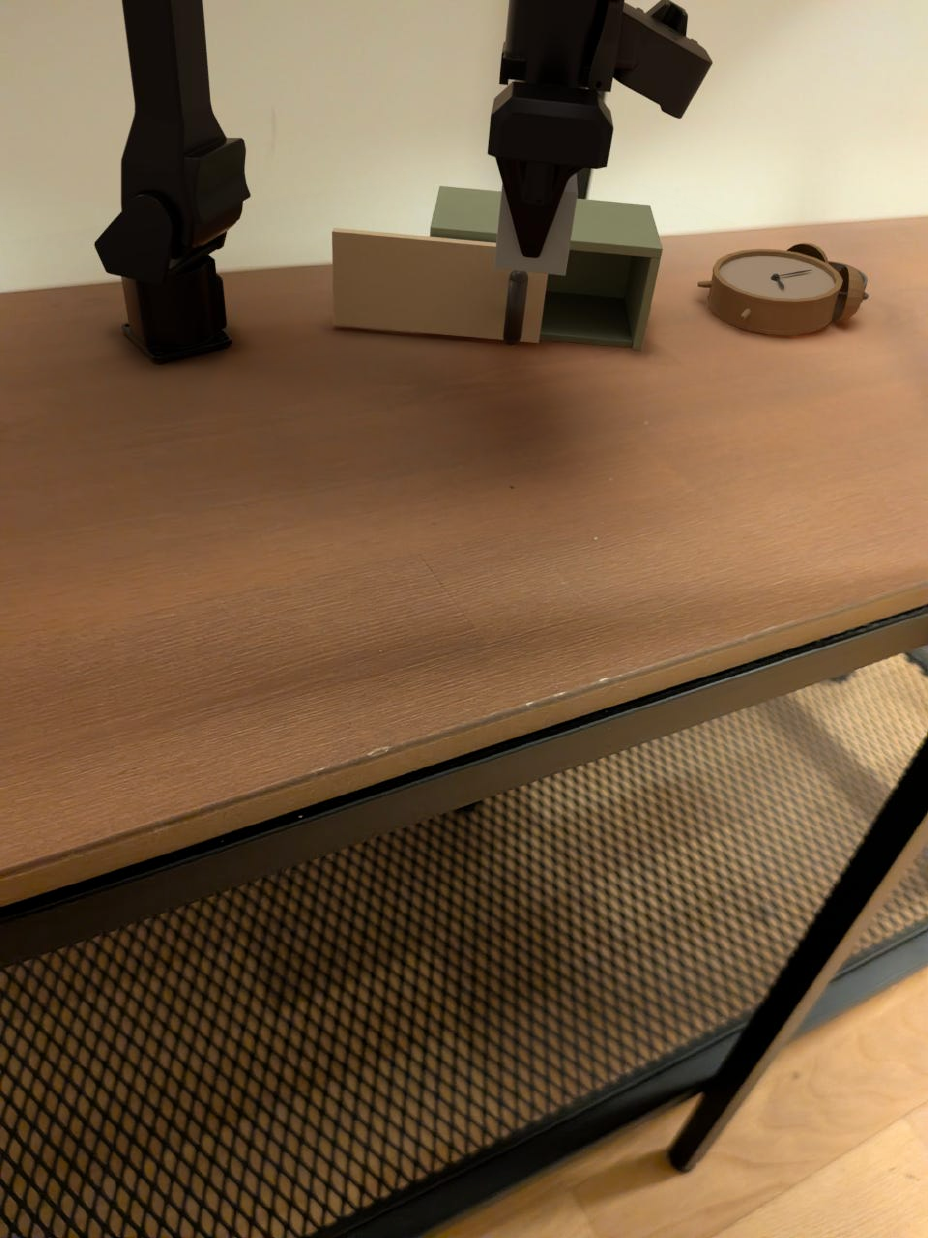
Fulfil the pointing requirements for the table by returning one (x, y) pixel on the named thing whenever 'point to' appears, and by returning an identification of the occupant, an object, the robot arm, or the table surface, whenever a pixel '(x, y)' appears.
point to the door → (432, 287)
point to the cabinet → (578, 265)
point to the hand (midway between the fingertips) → (531, 242)
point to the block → (556, 242)
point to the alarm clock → (784, 290)
